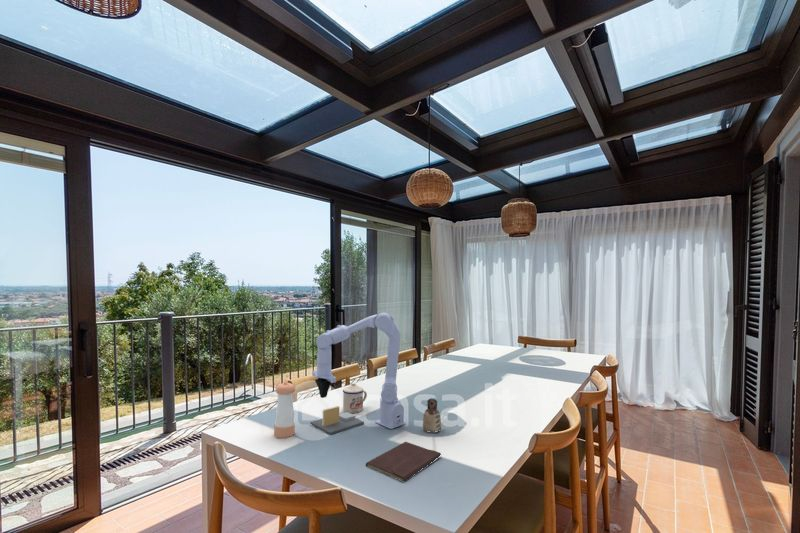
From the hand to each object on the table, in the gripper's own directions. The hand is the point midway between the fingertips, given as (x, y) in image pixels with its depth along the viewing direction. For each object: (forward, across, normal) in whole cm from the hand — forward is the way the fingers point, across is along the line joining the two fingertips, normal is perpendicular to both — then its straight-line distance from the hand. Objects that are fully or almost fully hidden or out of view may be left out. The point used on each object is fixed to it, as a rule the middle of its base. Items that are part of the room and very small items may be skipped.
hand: (323, 397), depth 152 cm
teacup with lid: (+10, -3, +19) cm, 22 cm away
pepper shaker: (+10, +1, -17) cm, 20 cm away
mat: (+10, +6, +3) cm, 12 cm away
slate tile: (+9, +5, +8) cm, 13 cm away
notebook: (+11, +46, +1) cm, 47 cm away
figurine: (+10, +35, +27) cm, 45 cm away
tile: (+9, +6, 0) cm, 11 cm away
